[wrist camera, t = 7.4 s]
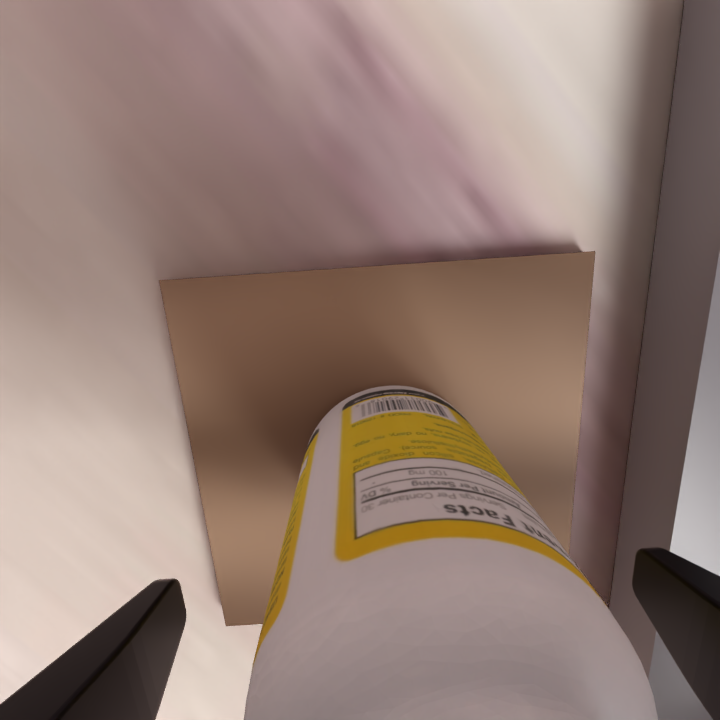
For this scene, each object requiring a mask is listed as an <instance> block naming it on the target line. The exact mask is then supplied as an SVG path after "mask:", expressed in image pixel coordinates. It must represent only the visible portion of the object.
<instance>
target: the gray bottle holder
mask: <svg viewBox="0 0 720 720" xmlns="http://www.w3.org/2000/svg"><path fill="white" fill-rule="evenodd" d="M651 547H660V548H664V549H666V550H668V551H670V552H672V553H674V554H676V555H678V556H680V557H682V558H684V559H686V560H688V561H690V562H692V563H694V564H696V565H698V566H700V567H702V568H704V569H706V570H708V571H710V572H712V573H714V574H716V575H718V576H720V0H685V1H684V9H683V18H682V26H681V34H680V42H679V50H678V58H677V66H676V74H675V82H674V90H673V98H672V106H671V114H670V122H669V130H668V138H667V146H666V154H665V162H664V170H663V179H662V187H661V195H660V203H659V211H658V219H657V227H656V235H655V243H654V251H653V259H652V267H651V275H650V283H649V291H648V299H647V307H646V315H645V323H644V331H643V340H642V348H641V356H640V364H639V372H638V380H637V388H636V396H635V404H634V412H633V420H632V428H631V436H630V444H629V452H628V460H627V468H626V476H625V484H624V492H623V500H622V509H621V517H620V525H619V533H618V541H617V549H616V557H615V565H614V573H613V581H612V589H611V597H610V605H609V610H610V612H611V613H612V615H613V616H614V618H615V619H616V621H617V622H618V624H619V625H620V627H621V628H622V630H623V631H624V633H625V634H626V636H627V637H628V639H629V640H630V642H631V644H632V646H633V648H634V650H635V651H636V653H637V655H638V657H639V659H640V661H641V663H642V665H643V668H644V671H645V673H646V676H647V678H648V681H649V684H650V687H651V690H652V693H653V696H654V701H655V706H656V712H657V717H658V720H713V719H712V718H711V716H710V715H709V714H708V712H707V711H706V709H705V708H704V706H703V705H702V703H701V702H700V701H699V699H698V698H697V696H696V695H695V693H694V692H693V690H692V689H691V687H690V686H689V684H688V682H687V681H686V679H685V678H684V676H683V675H682V673H681V671H680V670H679V668H678V666H677V665H676V663H675V661H674V660H673V658H672V656H671V655H670V653H669V651H668V650H667V648H666V646H665V645H664V643H663V641H662V640H661V638H660V636H659V635H658V633H657V631H656V630H655V628H654V626H653V625H652V623H651V621H650V620H649V618H648V616H647V615H646V613H645V611H644V610H643V608H642V606H641V605H640V603H639V601H638V600H637V598H636V596H635V594H634V591H633V588H632V575H633V568H634V561H635V554H636V552H637V551H638V549H640V548H651Z"/></svg>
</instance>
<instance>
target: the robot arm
mask: <svg viewBox="0 0 720 720" xmlns="http://www.w3.org/2000/svg"><path fill="white" fill-rule="evenodd" d="M632 588H633V591H634V594H635V596H636V598H637V600H638V601H639V603H640V605H641V606H642V608H643V610H644V611H645V613H646V615H647V616H648V618H649V620H650V621H651V623H652V625H653V626H654V628H655V630H656V631H657V633H658V635H659V636H660V638H661V640H662V641H663V643H664V645H665V646H666V648H667V650H668V651H669V653H670V655H671V656H672V658H673V660H674V661H675V663H676V665H677V666H678V668H679V670H680V671H681V673H682V675H683V676H684V678H685V679H686V681H687V682H688V684H689V686H690V687H691V689H692V690H693V692H694V693H695V695H696V696H697V698H698V699H699V701H700V702H701V703H702V705H703V706H704V708H705V709H706V711H707V712H708V714H709V715H710V716H711V718H712V719H713V720H720V576H718V575H716V574H714V573H712V572H710V571H708V570H706V569H704V568H702V567H700V566H698V565H696V564H694V563H692V562H690V561H688V560H686V559H684V558H682V557H680V556H678V555H676V554H674V553H672V552H670V551H668V550H666V549H664V548H660V547H651V548H640V549H638V551H637V552H636V554H635V561H634V568H633V575H632ZM185 622H186V608H185V604H184V599H183V595H182V590H181V586H180V583H179V581H178V580H177V579H159V580H156V581H154V582H152V583H151V584H150V585H148V586H147V587H146V588H145V589H143V590H142V591H141V592H140V593H138V594H137V595H136V596H135V597H133V598H132V599H131V600H130V601H128V602H127V603H126V604H125V605H123V606H122V607H121V608H120V609H118V610H117V611H116V612H115V613H113V614H112V615H111V616H110V617H108V618H107V619H106V620H105V621H103V622H102V623H101V624H100V625H98V626H97V627H96V628H95V629H93V630H92V631H91V632H90V633H88V634H87V635H86V636H85V637H83V638H82V639H81V640H80V641H78V642H77V643H76V644H75V645H73V646H72V647H71V648H70V649H69V650H67V651H66V652H65V653H64V654H62V655H61V656H60V657H59V658H57V659H56V660H55V661H54V662H52V663H51V664H50V665H49V666H47V667H46V668H45V669H44V670H42V671H41V672H40V673H39V674H37V675H36V676H35V677H34V678H32V679H31V680H30V681H29V682H27V683H26V684H25V685H24V686H22V687H21V688H20V689H19V690H17V691H16V692H15V693H14V694H12V695H11V696H10V697H9V698H7V699H6V700H5V701H4V702H2V703H1V704H0V720H155V719H156V716H157V713H158V710H159V707H160V704H161V701H162V697H163V694H164V691H165V688H166V685H167V681H168V678H169V675H170V672H171V668H172V665H173V662H174V659H175V656H176V652H177V649H178V646H179V643H180V639H181V636H182V633H183V630H184V626H185Z"/></svg>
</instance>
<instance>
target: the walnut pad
mask: <svg viewBox="0 0 720 720" xmlns="http://www.w3.org/2000/svg"><path fill="white" fill-rule="evenodd" d="M594 261H595V251H592V252H577V253H562V254H547V255H532V256H517V257H502V258H487V259H472V260H457V261H442V262H427V263H412V264H397V265H382V266H367V267H353V268H338V269H323V270H308V271H293V272H278V273H263V274H248V275H233V276H218V277H203V278H188V279H173V280H159V283H160V288H161V293H162V298H163V304H164V309H165V314H166V319H167V324H168V329H169V335H170V340H171V345H172V350H173V355H174V360H175V366H176V371H177V376H178V381H179V386H180V391H181V397H182V402H183V407H184V412H185V417H186V422H187V428H188V433H189V438H190V443H191V448H192V453H193V459H194V464H195V469H196V474H197V479H198V484H199V490H200V495H201V500H202V505H203V510H204V515H205V521H206V526H207V531H208V536H209V541H210V547H211V552H212V557H213V562H214V567H215V572H216V578H217V583H218V588H219V593H220V598H221V603H222V609H223V614H224V619H225V624H226V626H236V625H252V624H263V622H264V617H265V613H266V609H267V605H268V602H269V598H270V594H271V589H272V585H273V582H274V577H275V573H276V570H277V565H278V561H279V557H280V553H281V549H282V545H283V540H284V536H285V532H286V528H287V524H288V520H289V516H290V512H291V508H292V503H293V499H294V495H295V491H296V487H297V483H298V479H299V475H300V470H301V466H302V462H303V459H304V455H305V452H306V449H307V446H308V443H309V440H310V438H311V436H312V434H313V432H314V430H315V429H316V427H317V426H318V424H319V423H320V421H321V420H322V419H323V418H324V416H325V415H326V414H327V413H328V412H329V411H330V410H331V409H332V408H334V407H335V406H336V405H337V404H339V403H340V402H341V401H343V400H345V399H346V398H348V397H350V396H352V395H354V394H356V393H359V392H361V391H364V390H367V389H370V388H375V387H380V386H409V387H414V388H418V389H422V390H425V391H427V392H430V393H433V394H435V395H437V396H439V397H441V398H442V399H444V400H445V401H447V402H448V403H449V404H451V405H452V406H453V407H454V408H455V409H456V410H458V411H459V412H460V413H461V414H462V415H463V416H464V418H465V419H466V420H467V421H468V422H469V423H470V424H471V426H472V427H473V428H474V429H475V431H476V432H477V433H478V435H479V436H480V437H481V439H482V440H483V441H484V443H485V444H486V445H487V447H488V448H489V449H490V451H491V452H492V453H493V455H494V456H495V457H496V459H497V460H498V461H499V463H500V464H501V465H502V467H503V468H504V469H505V471H506V472H507V473H508V475H509V476H510V477H511V479H512V480H513V481H514V483H515V484H516V485H517V487H518V488H519V489H520V491H521V492H522V493H523V495H524V496H525V497H526V499H527V500H528V501H529V503H530V504H531V505H532V507H533V508H534V509H535V511H536V512H537V513H538V515H539V516H540V517H541V519H542V520H543V521H544V523H545V524H546V525H547V527H548V528H549V529H550V531H551V532H552V533H553V535H554V536H555V537H556V539H557V540H558V541H559V543H560V544H561V545H562V547H563V548H564V549H565V551H566V552H567V553H568V555H569V547H570V536H571V524H572V513H573V501H574V490H575V478H576V467H577V456H578V444H579V433H580V421H581V410H582V398H583V387H584V375H585V364H586V352H587V341H588V330H589V318H590V307H591V295H592V284H593V272H594Z"/></svg>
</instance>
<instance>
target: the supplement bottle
mask: <svg viewBox="0 0 720 720" xmlns="http://www.w3.org/2000/svg"><path fill="white" fill-rule="evenodd" d="M244 720H658V717H657V712H656V706H655V701H654V696H653V693H652V690H651V687H650V684H649V681H648V678H647V676H646V673H645V671H644V668H643V665H642V663H641V661H640V659H639V657H638V655H637V653H636V651H635V650H634V648H633V646H632V644H631V642H630V640H629V639H628V637H627V636H626V634H625V633H624V631H623V630H622V628H621V627H620V625H619V624H618V622H617V621H616V619H615V618H614V616H613V615H612V613H611V612H610V610H609V608H608V607H607V606H606V604H605V603H604V601H603V600H602V599H601V597H600V596H599V595H598V593H597V592H596V590H595V589H594V588H593V587H592V586H591V584H590V582H589V581H588V580H587V578H586V577H585V575H584V574H583V573H582V571H581V570H580V569H579V568H578V567H577V565H576V564H575V563H574V561H573V560H572V559H571V557H570V556H569V555H568V553H567V552H566V551H565V549H564V548H563V547H562V545H561V544H560V543H559V541H558V540H557V539H556V537H555V536H554V535H553V533H552V532H551V531H550V529H549V528H548V527H547V525H546V524H545V523H544V521H543V520H542V519H541V517H540V516H539V515H538V513H537V512H536V511H535V509H534V508H533V507H532V505H531V504H530V503H529V501H528V500H527V499H526V497H525V496H524V495H523V493H522V492H521V491H520V489H519V488H518V487H517V485H516V484H515V483H514V481H513V480H512V479H511V477H510V476H509V475H508V473H507V472H506V471H505V469H504V468H503V467H502V465H501V464H500V463H499V461H498V460H497V459H496V457H495V456H494V455H493V453H492V452H491V451H490V449H489V448H488V447H487V445H486V444H485V443H484V441H483V440H482V439H481V437H480V436H479V435H478V433H477V432H476V431H475V429H474V428H473V427H472V426H471V424H470V423H469V422H468V421H467V420H466V419H465V418H464V416H463V415H462V414H461V413H460V412H459V411H458V410H456V409H455V408H454V407H453V406H452V405H451V404H449V403H448V402H447V401H445V400H444V399H442V398H441V397H439V396H437V395H435V394H433V393H430V392H427V391H425V390H422V389H418V388H414V387H409V386H380V387H375V388H370V389H367V390H364V391H361V392H359V393H356V394H354V395H352V396H350V397H348V398H346V399H345V400H343V401H341V402H340V403H339V404H337V405H336V406H335V407H334V408H332V409H331V410H330V411H329V412H328V413H327V414H326V415H325V416H324V418H323V419H322V420H321V421H320V423H319V424H318V426H317V427H316V429H315V430H314V432H313V434H312V436H311V438H310V440H309V443H308V446H307V449H306V452H305V455H304V459H303V462H302V466H301V470H300V475H299V479H298V483H297V487H296V491H295V495H294V499H293V503H292V508H291V512H290V516H289V520H288V524H287V528H286V532H285V536H284V540H283V545H282V549H281V553H280V557H279V561H278V565H277V570H276V573H275V577H274V582H273V585H272V589H271V594H270V598H269V602H268V605H267V609H266V613H265V617H264V622H263V626H262V630H261V633H260V637H259V641H258V645H257V650H256V654H255V658H254V662H253V667H252V673H251V679H250V684H249V690H248V695H247V700H246V707H245V715H244Z"/></svg>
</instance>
